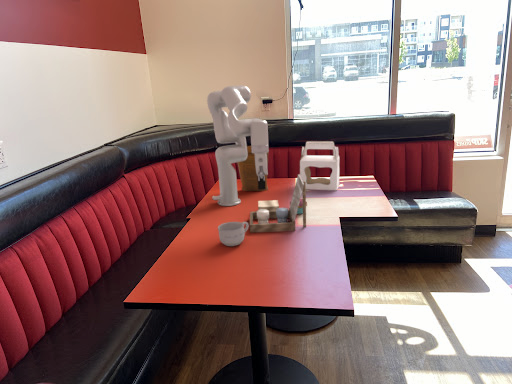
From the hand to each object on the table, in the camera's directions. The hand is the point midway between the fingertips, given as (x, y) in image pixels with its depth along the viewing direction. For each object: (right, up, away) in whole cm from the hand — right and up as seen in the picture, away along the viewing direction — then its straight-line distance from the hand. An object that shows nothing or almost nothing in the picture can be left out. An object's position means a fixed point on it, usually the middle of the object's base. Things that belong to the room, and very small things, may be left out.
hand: (261, 186), depth 174 cm
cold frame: (+7, -17, +5) cm, 19 cm away
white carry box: (+37, 0, +63) cm, 72 cm away
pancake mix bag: (-3, -2, +62) cm, 62 cm away
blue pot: (+10, -17, +6) cm, 20 cm away
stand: (+4, -13, +20) cm, 25 cm away
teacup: (-11, -24, -13) cm, 29 cm away
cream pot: (+1, -18, +5) cm, 18 cm away
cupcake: (+19, -13, +19) cm, 30 cm away
